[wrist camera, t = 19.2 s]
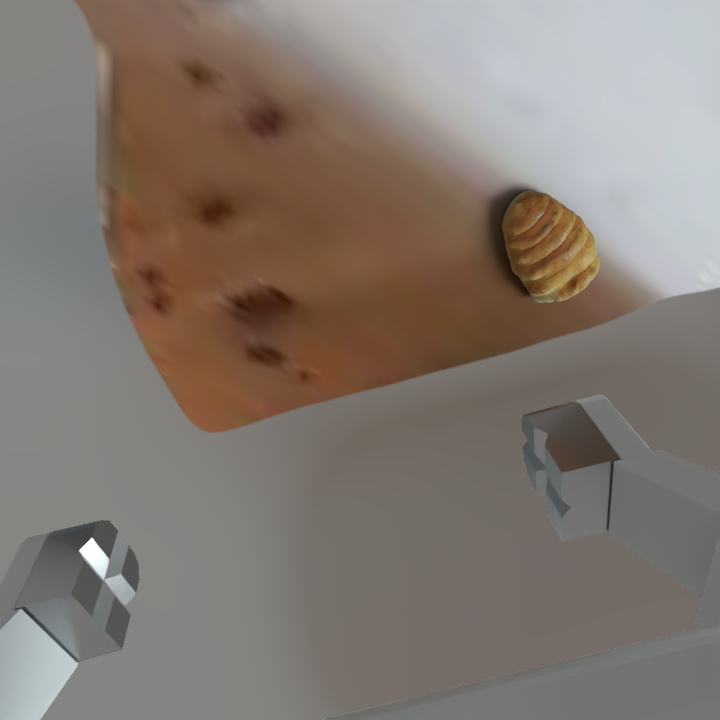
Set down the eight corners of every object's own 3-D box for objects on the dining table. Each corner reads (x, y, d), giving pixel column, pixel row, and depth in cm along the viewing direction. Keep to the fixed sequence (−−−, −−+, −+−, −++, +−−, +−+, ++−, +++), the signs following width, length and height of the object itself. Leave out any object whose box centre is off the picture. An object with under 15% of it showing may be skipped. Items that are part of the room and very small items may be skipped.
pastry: (476, 224, 43) (493, 238, 40) (545, 166, 42) (569, 176, 39) (532, 302, 48) (552, 320, 44) (597, 252, 46) (622, 267, 43)
